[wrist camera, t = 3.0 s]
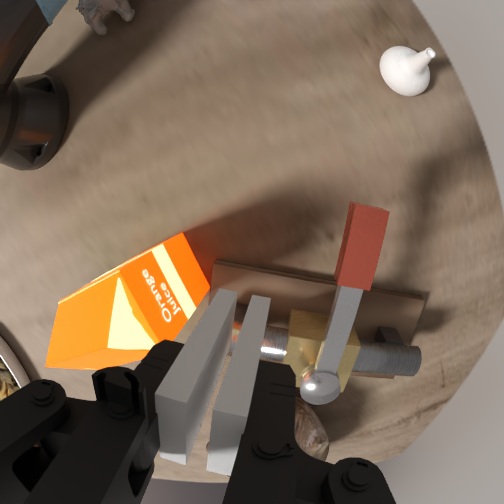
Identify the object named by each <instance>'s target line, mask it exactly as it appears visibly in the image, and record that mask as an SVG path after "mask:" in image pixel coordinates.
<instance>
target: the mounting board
mask: <svg viewBox="0 0 504 504" xmlns="http://www.w3.org/2000/svg"><path fill="white" fill-rule="evenodd" d="M337 286H338V285H337V283H336V281H330V280H324V279H319V278H313V277H307V276H302V275H296V274H291V273H285V272H280V271H274V270H269V269H263V268H258V267H252V266H247V265H242V264H236V263H231V262H225V261H220V260H216V261H215V262H214V263H213V268H212V277H211V286H210V296H209V304H210V303H211V301H212V300H213V298H214V296H215V295H216V293H217V292H218V290H219V288H221V289H226V290H231V291H236V292H238V294H237V301H236V302H237V303H242V304H247V305H249V303H250V300H251V297H252V295H257V296H262V297H267V298H271V300H270V306H269V311H268V317H267V322H266V325H268V326H274V327H279V328H285V329H286V328H287V323H288V319H289V315H290V310H291V309H296V310H302V311H308V312H314V313H320V314H326V315H330V312H331V309H332V305H333V301H334V298H335V294H336V290H337ZM424 303H425V300H424V299H423V298H422V296H419V295H412V294H406V293H400V292H394V291H388V290H382V289H376V288H371V289H370V291H368V290H363V293H362V296H361V300H360V303H359V307H358V310H357V313H356V316H355V319H354V323H353V325H354V328H355V331H356V334H357V336H358V339H359V340H365V341H374V338H375V335H376V333H377V330H378V327H379V326H382V327H389V328H396V330H397V331H398V333H399V335H400V336H401V338H402V340H403V342H404V344H403V345H409V343H410V340H411V338H412V335H413V333H414V330H415V328H416V325H417V322H418V320H419V317H420V314H421V311H422V309H423V306H424ZM208 306H209V305H208ZM227 355H228V356H232V352H228V354H227ZM259 360H264V361H270V362H276V363H280V362H279V361H273V360H268V359H262V358H259ZM350 375H354V376H364V377H375V378H389V379H393V378H394V376H395V375H383V374H371V373H360V372H351V374H350Z"/></svg>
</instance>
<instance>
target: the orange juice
mask: <svg viewBox="0 0 504 504" xmlns="http://www.w3.org/2000/svg"><path fill="white" fill-rule="evenodd" d="M82 287H83V286H82ZM209 289H210V286H209V284H208V282H207V280H206V278H205V276H204V274H203V272H202V270H201V269H200V267H199V265H198V263H197V261H196V259H195V257H194V255H193V253H192V251H191V249H190V247H189V245H188V243H187V241H186V239H185V237H184V235H183V233H181V234H179V235H177V236H175V237H173V238H171V239H169V240H167V241H165V242H163V243H161V244H159V245H157V246H155V247H153V248H151V249H149V250H147V251H145V252H143V253H141V254H139V255H137V256H135V257H133V258H131V259H130V260H128V261H126V262H124V263H123V264H121V265H119V266H118V267H116V268H114V269H112V270H111V271H109V272H107V273H105V274H103V275H102V276H100V277H98V278H97V279H95V280H93V281H92V282H91V283H89V284H88V285H86V286H84V287H83V288H81V289H79V290H78V291H76V292H75V293H73V294H71V295H69V296H68V297H66V298H64V299H62V300H60V302H59V307H58V311H57V314H56V319H55V323H54V327H53V331H52V336H51V341H50V345H49V350H48V356H47V361H46V366H44V367H55V368H69V369H89V370H100V369H103V368H105V367H112V366H118V365H122V364H126V363H129V362H133V361H137V360H141V359H143V358H144V357H145V356H146V354H147V353H148V352H149V350H150V349H151V348H152V347H153V345H155V344H157V343H159V342H161V341H162V340H164V339H167V340H171V341H173V340H174V339H175V337H176V336H177V334H178V333H179V331H180V330H181V329H182V327H183V326H184V324H185V323H186V321H187V320H188V319H189V318H190V317H191V315H192V314H193V312H194V311H195V309H196V307H197V306H198V304H199V303H200V301H201V300H202V299H203V297H204V296H205V294H206V293H207V291H208V290H209Z"/></svg>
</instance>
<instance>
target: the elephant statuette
mask: <svg viewBox="0 0 504 504" xmlns="http://www.w3.org/2000/svg"><path fill="white" fill-rule="evenodd" d="M128 1H129V0H79V4H78V7H76V10H77V9H78V10H79V12H81V14H82V15H83V16H84V19H85V22H86V23H87V24H89V25H90V26H91V27H92V28H93V29H94V30H95V31H96V33H97V34H99V35H105V34H106V33H107V31H108V30H107V27H106V26H105V25H104V24H103V22H102V17H103V16H104V14H107V13H109V11H116V12H117V13H119V14H120V15H121V17H122V19H123V20H124V21H126V22H129V21H131V20H132V19H133V17H134V15H135V10H133V9H131V7H130V4H129V2H128Z"/></svg>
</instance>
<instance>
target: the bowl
mask: <svg viewBox="0 0 504 504" xmlns="http://www.w3.org/2000/svg"><path fill="white" fill-rule="evenodd" d="M28 383H30V380H29V378H28V376H27V374H26V372H25V370H24V368H23V367H22V365H21V363H20V362H19V360H18V359H17V357H16V356H15V354H14V353H13V351H12V350H11V349H10V347H9V346H8V345H7V343H6V342H5V341H4V340H3V339H2V337H1V336H0V401H1V400H2V399H4V398H6V397H7V396H9V395H11V394H12V393H14V392H15V391H17V390H19V389H20V388H22V387H23V386H25V385H27V384H28Z"/></svg>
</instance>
